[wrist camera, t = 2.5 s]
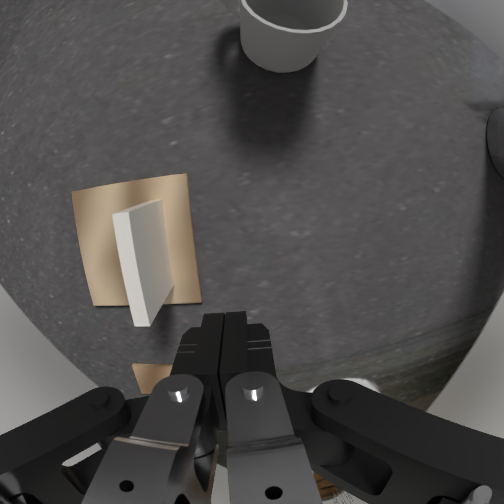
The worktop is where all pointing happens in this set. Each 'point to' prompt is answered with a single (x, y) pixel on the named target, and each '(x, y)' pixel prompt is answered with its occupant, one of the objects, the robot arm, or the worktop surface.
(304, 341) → the worktop surface
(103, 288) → the board
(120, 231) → the tile
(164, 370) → the tan tapered flat part
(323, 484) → the utensil holder
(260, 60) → the cup
